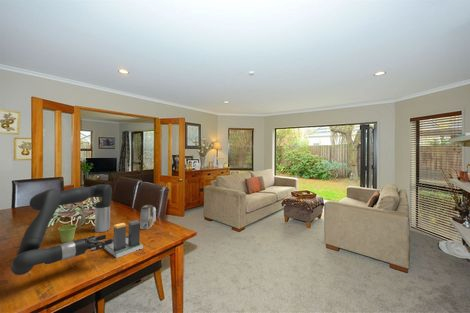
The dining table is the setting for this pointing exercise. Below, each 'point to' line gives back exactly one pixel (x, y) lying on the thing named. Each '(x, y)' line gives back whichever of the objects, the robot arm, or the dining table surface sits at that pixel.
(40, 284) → the dining table surface
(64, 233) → the plant pot
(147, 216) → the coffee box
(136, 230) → the twin post stand
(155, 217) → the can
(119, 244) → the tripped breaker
